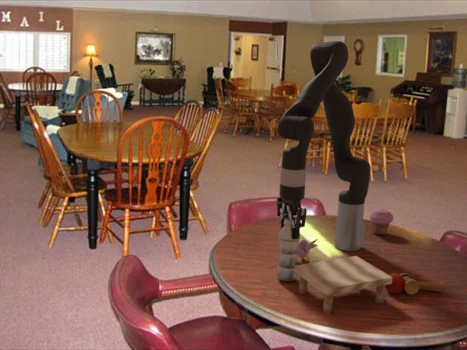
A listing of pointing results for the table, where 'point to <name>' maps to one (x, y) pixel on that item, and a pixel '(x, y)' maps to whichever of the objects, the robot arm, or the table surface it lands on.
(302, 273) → the footstool
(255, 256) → the table surface
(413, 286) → the kendama
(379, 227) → the cupcake
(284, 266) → the plastic bottle
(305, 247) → the lily
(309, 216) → the table surface
